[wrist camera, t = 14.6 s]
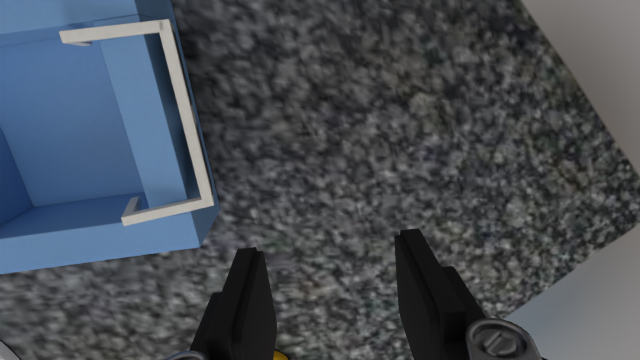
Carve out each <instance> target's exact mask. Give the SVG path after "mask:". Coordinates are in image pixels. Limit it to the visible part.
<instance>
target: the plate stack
mask: <svg viewBox="0 0 640 360" xmlns="http://www.w3.org/2000/svg"><path fill="white" fill-rule="evenodd" d="M0 360H20V359H19V358H18V357H17V356H16V355H15V354H14V353H13V352H12V351H11V350H10V349H9V348H8V347H7V346H6V345H4V344H3V343H2V342H1V341H0Z"/></svg>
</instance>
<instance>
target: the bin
mask: <svg viewBox="0 0 640 360" xmlns="http://www.w3.org/2000/svg"><path fill="white" fill-rule="evenodd" d="M163 19H169V20H170V22H171V23H172V25H173V27H174V31H175V34H176V38H177V42H178V46H179V51H180V55H181V59H182V63H183V67H184V71H185V75H186V80H187V84H188V88H189V92H190V96H191V100H192V106H193V110H194V114H195V118H196V122H197V125H198V129H199V133H200V138H201V142H202V146H203V150H204V154H205V158H206V162H207V167H208V171H209V175H210V179H211V183H212V189H213V198H214V205H213V206H209V207H205V208H201V209H196V210H192V211H188V212H183V213H179V214H175V215H170V216H166V217H162V218H157V219H153V220H149V221H144V222H140V223H136V224H131V225H127V226H124V225H123V222H122V219H121V217H122V215H123V213H124V211H125V209H126V207H127V205H128V203H129V201H130V199H131V198H133V197H138V196H139V197H140V199H141V202H142V204H141V207H140V209H139V211H140V210H144V209H149V208H153V207H158V206H162V205H167V204H171V203H175V202H180V201H184V200H189V199H193V198H198V197H201V196H200V192H199V188H198V184H197V180H196V176H195V172H194V168H193V164H192V160H191V156H190V152H189V148H188V144H187V141H186V137H185V133H184V128H183V124H182V120H181V116H180V112H179V108H178V105H177V101H176V97H175V93H174V89H173V85H172V81H171V77H170V73H169V70H168V66H167V62H166V58H165V54H164V50H163V46H162V42H161V38H160V34H159V33H152V34H144V35H135V36H127V37H119V38H110V39H102V40H94V41H92V45H89V46H79V45H72V44H65V43H62V40H61V37H60V34H59V31H64V30H73V29H82V28H91V27H100V26H109V25H118V24H127V23H136V22H145V21H154V20H163ZM219 211H220V206H219V201H218V197H217V193H216V189H215V185H214V180H213V176H212V172H211V168H210V164H209V159H208V155H207V151H206V147H205V143H204V138H203V134H202V130H201V126H200V122H199V117H198V113H197V109H196V105H195V101H194V96H193V92H192V88H191V84H190V80H189V75H188V71H187V67H186V63H185V59H184V54H183V50H182V46H181V42H180V38H179V33H178V29H177V25H176V21H175V17H174V12H173V8H172V4H171V0H0V274H5V273H12V272H19V271H27V270H34V269H42V268H49V267H56V266H64V265H71V264H79V263H86V262H93V261H101V260H108V259H116V258H123V257H130V256H138V255H145V254H153V253H160V252H167V251H175V250H182V249H190V248H197V247H200V246H201V244H202V243H203V241H204V239H205V237H206V235H207V233H208V231H209V230H210V228H211V226H212V224H213V222H214V220H215V218H216V217H217V215H218V213H219Z"/></svg>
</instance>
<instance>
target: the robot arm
mask: <svg viewBox="0 0 640 360" xmlns="http://www.w3.org/2000/svg"><path fill="white" fill-rule="evenodd" d="M394 239H395V256H396V273H397V289H398V305H399V313H400V317H401V321H402V324H403V327H404V330H405V333H406V336H407V339H408V342H409V346H410V349H411V352H412V355H413V358H414V360H547V359H545V358H542V357H541V356H540V354H539V352H538V350H537V347H536V345H535V343H534V341H533V339H532V338H531V336H530V335H529V333H527V332H526V331H525V330H524V329H523V328H521V327H520V326H518V325H516V324H514V323H512V322H509V321H506V320H503V319H496V318H486V316H485V315H484V313H483V312H482V310H481V309H480V307H479V305H478V304H477V302H476V301H475V299H474V298H473V296H472V294H471V293H470V291H469V290H468V288H467V287H466V285H465V283H464V282H463V280H462V279H461V277H460V276H459V274H458V272H457V271H456V269H455V268H454V267H452V266H448V267H441V266H440V264H439V263H438V261H437V259H436V257H435V256H434V254H433V252H432V250H431V249H430V247H429V245H428V244H427V242H426V240H425V238H424V237H423V235H422V233H421V231H420V230H419V229H409V230H401V231H400V235H397V236H395V238H394ZM276 335H277V321H276V315H275V310H274V305H273V300H272V294H271V289H270V284H269V279H268V274H267V268H266V263H265V258H264V253H263V251H257V249H256V247H252V248H244V249H238V250H237V252H236V255H235V258H234V260H233V263H232V266H231V269H230V271H229V274H228V277H227V279H226V282H225V285H224V287H223V290H222V292H217V293H213V294H212V296H211V298H210V301H209V303H208V306H207V308H206V310H205V313H204V315H203V318H202V320H201V323H200V325H199V328H198V330H197V333H196V335H195V338H194V340H193V342H192V345H191V347H190V350H189V351H184V352H180V353H177V354H174V355H172V356H170V357H168V358H167V359H165V360H273V358H274V350H275V343H276Z"/></svg>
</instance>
